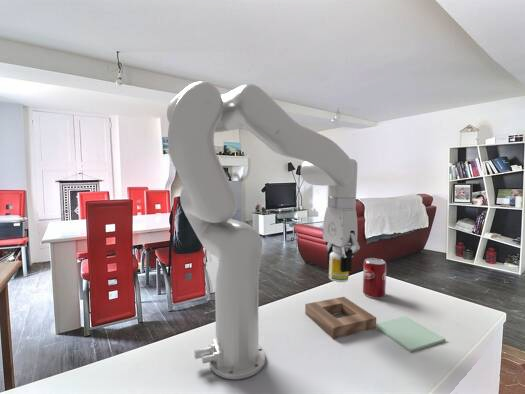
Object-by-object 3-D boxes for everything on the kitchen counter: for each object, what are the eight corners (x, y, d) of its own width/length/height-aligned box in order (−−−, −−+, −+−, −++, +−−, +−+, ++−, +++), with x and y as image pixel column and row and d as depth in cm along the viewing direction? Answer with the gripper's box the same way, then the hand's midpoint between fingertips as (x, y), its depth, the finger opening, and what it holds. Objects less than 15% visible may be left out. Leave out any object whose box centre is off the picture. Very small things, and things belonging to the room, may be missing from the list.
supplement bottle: (325, 277, 81) (326, 244, 80) (340, 275, 83) (342, 243, 82) (336, 283, 76) (337, 248, 75) (352, 281, 78) (354, 247, 77)
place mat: (410, 351, 67) (410, 349, 67) (373, 326, 78) (373, 324, 78) (445, 340, 71) (445, 338, 71) (405, 318, 82) (405, 316, 82)
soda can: (366, 299, 95) (367, 264, 94) (360, 290, 102) (361, 257, 101) (388, 299, 94) (390, 264, 93) (380, 290, 102) (381, 258, 101)
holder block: (332, 339, 72) (333, 327, 72) (305, 313, 85) (305, 304, 85) (376, 328, 77) (376, 317, 77) (343, 305, 90) (343, 296, 90)
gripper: (313, 201, 85) (311, 260, 86) (350, 207, 69) (347, 279, 70) (334, 200, 87) (332, 258, 89) (374, 206, 71) (371, 276, 73)
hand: (338, 267), depth 79 cm, fingers closed on supplement bottle, 5 cm apart
